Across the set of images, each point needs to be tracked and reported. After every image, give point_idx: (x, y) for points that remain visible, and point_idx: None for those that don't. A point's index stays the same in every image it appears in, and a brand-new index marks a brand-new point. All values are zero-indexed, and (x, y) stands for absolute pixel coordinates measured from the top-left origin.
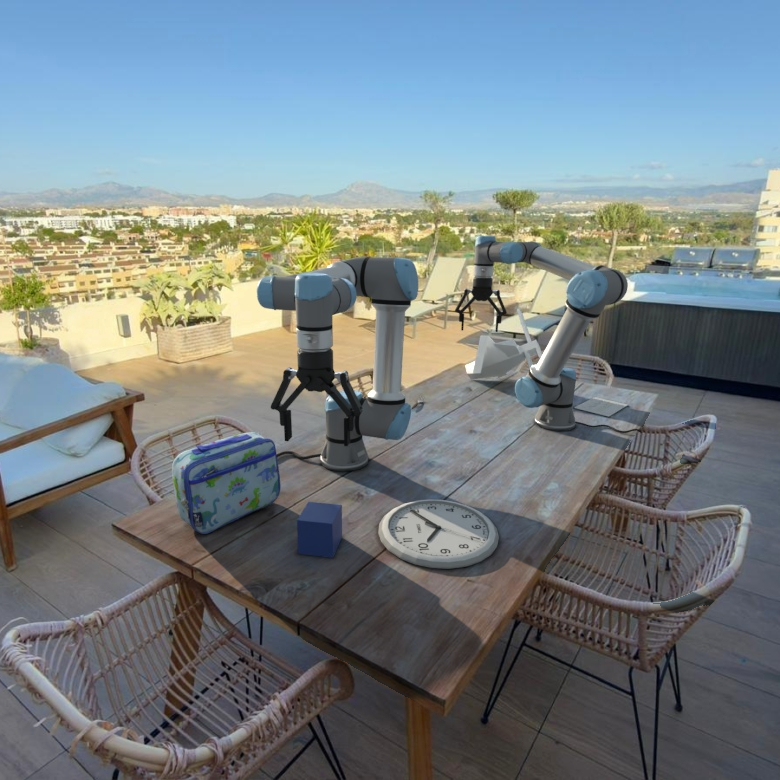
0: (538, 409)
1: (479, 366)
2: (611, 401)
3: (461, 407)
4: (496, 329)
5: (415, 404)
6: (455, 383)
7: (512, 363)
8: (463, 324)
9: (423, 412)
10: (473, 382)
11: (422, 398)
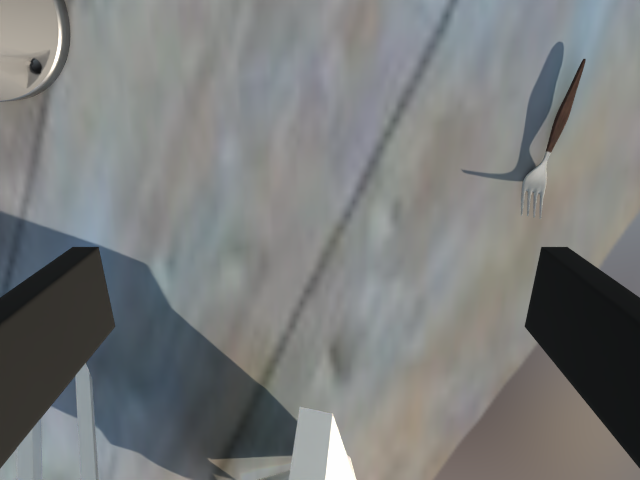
0: (25, 27)
1: (305, 443)
2: None
3: (369, 150)
4: (70, 263)
5: (563, 121)
6: (387, 411)
7: None
8: (592, 286)
9: (529, 50)
10: None
11: (528, 199)
